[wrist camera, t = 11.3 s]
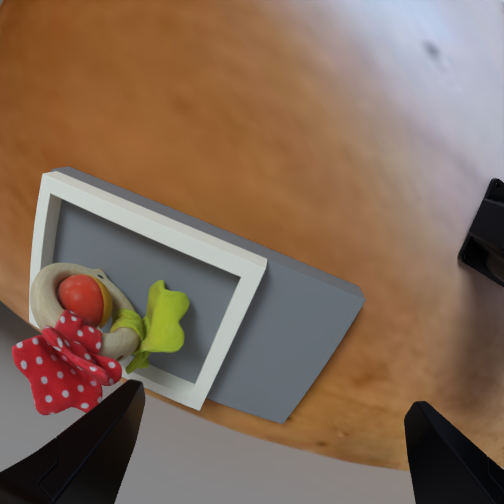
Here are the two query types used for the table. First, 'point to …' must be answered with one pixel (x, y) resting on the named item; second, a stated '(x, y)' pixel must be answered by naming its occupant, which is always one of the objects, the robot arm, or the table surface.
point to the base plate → (200, 295)
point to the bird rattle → (91, 335)
